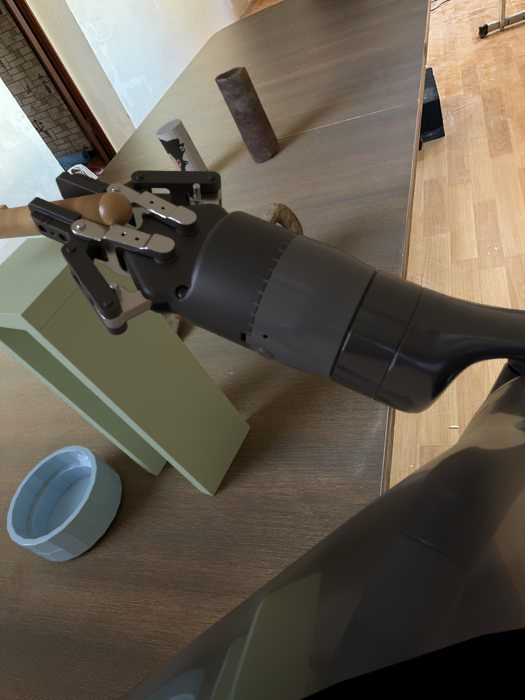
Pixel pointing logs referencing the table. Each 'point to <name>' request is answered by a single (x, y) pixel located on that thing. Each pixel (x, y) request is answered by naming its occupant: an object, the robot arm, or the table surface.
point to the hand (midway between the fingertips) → (49, 198)
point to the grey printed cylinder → (180, 147)
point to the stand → (117, 369)
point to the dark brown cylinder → (248, 113)
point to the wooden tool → (91, 207)
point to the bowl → (64, 504)
